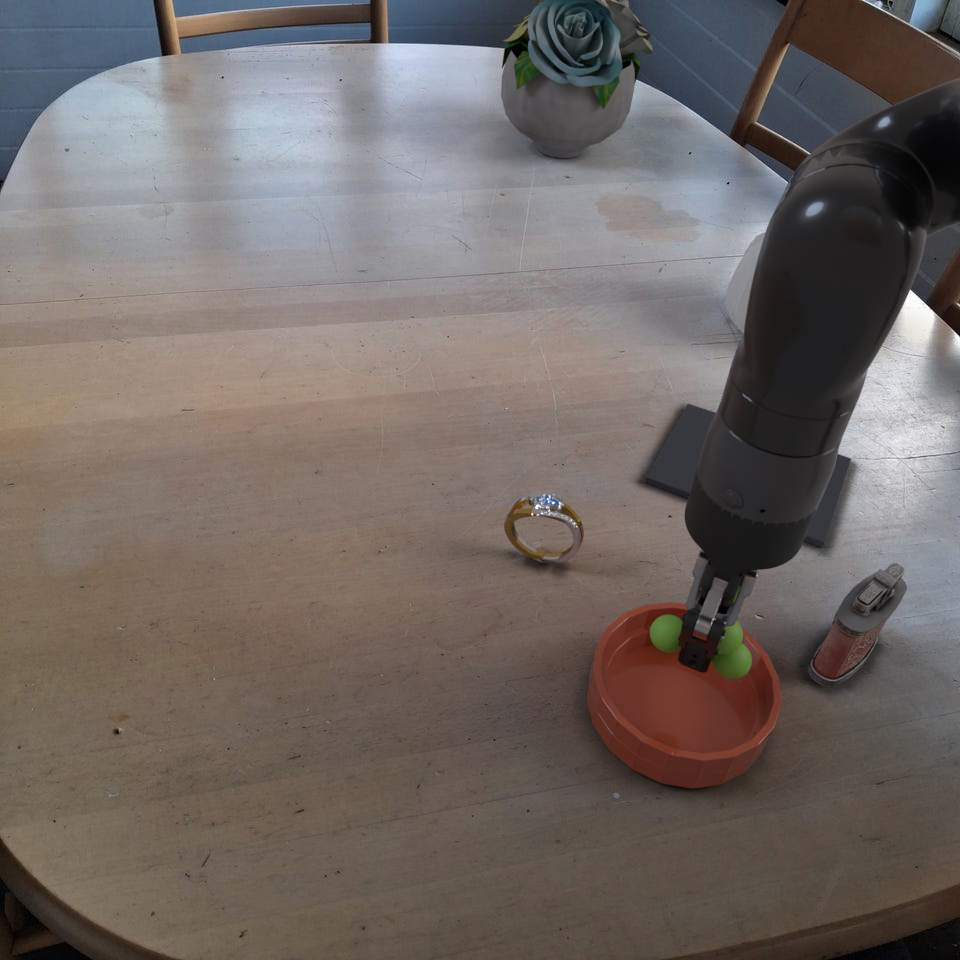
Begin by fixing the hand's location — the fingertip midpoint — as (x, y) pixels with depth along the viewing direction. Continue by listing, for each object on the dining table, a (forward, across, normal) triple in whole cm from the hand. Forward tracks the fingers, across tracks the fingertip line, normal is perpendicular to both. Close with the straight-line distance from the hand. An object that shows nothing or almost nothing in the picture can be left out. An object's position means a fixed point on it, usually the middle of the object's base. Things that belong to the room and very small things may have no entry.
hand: (699, 647), depth 67 cm
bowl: (+8, 0, 0) cm, 8 cm away
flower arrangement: (+8, +95, +51) cm, 108 cm away
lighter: (+8, +12, -11) cm, 18 cm away
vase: (+8, +59, +6) cm, 60 cm away
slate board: (+8, +31, +2) cm, 32 cm away
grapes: (+1, 0, 0) cm, 1 cm away
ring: (+8, +9, +16) cm, 20 cm away
